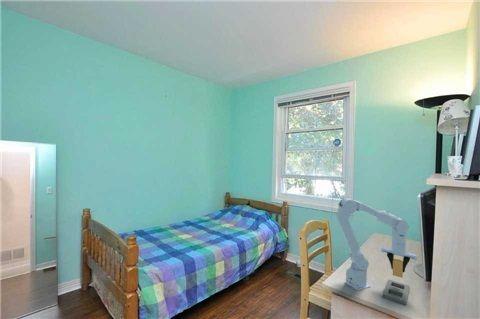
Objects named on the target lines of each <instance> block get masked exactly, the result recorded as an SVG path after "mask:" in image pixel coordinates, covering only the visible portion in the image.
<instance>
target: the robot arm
mask: <svg viewBox="0 0 480 319" xmlns="http://www.w3.org/2000/svg"><path fill="white" fill-rule="evenodd" d="M361 211H363V212H365V213H367V214H369V215H372V216H374V217H376V219H377V221H378V222H381V223H383V224H385V225H387V226H389V227H391V228H392V230H391V233H392V234H391V248H388V247H383V246H382V247H381V250H380V251H381V253H385V254H386V257H387V259H388V261H389V263H390V267H391V270H393V259H394V258H395V256H400V257H403V258H402V260H403V273H405V271H406V267H407V265H408V264H409V262H410V260H411V259H412V260H414V261H418V255H417V254H413V253H410V252H409V251H408V252H407V250H406V249H407V248H406V247H407V231H408V230H409V229H410V226H409V223H408V222H407V221H406V220H404V219H402V218H400V217H399V215H394V214H392V213H390V212H389V211H388V210H384V209H383V210H382V209H381V210H377V209H375V208H374V207H371V206H370V205H367V204H365V203H363V202H361V201H358V200H356V199H351V198H350V197H343V198H341V199H340V201H339V202H338V208H337V212H336V213H337V214H336V218H337V220H338V223H339V225H340V226H339V227H340V229H341V230H342V233H343V236H344V238H345V240H346V244H347V246H348V249H349V254H350V255H349V258H350V260H351V261H352V262H351V264H350V267H349V268H347V269H346V272H345V281H344V283H345V284H346V285H348V286H350V287H351V288H353V289H355V290H356V291H360V290H365V289H367V288H371V285H370V284H369V283H367V280H368V268H369V265H370V263H369V260H368V259H367V258H366V257H365V256H364V253H363V251H362V250H361V248H360V246H359V243H358V241H357V238H356V235H355V233H354V231H353V227H352V225H351V223H350V220H349V219H350V217H351V215H353V214H354V213H356V212H361ZM394 255H395V256H394Z"/></svg>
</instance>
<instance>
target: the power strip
mask: <svg viewBox="0 0 480 319" xmlns="http://www.w3.org/2000/svg"><path fill="white" fill-rule="evenodd" d="M409 292H410V285H408V284H405V283H402V282H398V281H395V280H393V279H387V282H386V284H385V287H384V289H383V291H382V295H381V297H382V298H384V299H388V300H390V301H393V302H396V303H399V304H401V305H405V306H407V303H408V298H409V294H410V293H409ZM390 293H391V294H390ZM394 294H395V295H394ZM396 295H398V296H396ZM399 296H400V297H399Z"/></svg>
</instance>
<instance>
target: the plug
mask: <svg viewBox="0 0 480 319" xmlns="http://www.w3.org/2000/svg"><path fill="white" fill-rule="evenodd" d="M392 276H394V277H398V278H403V276H404V272H403V258H397V257H394V259H393V269H392Z"/></svg>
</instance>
